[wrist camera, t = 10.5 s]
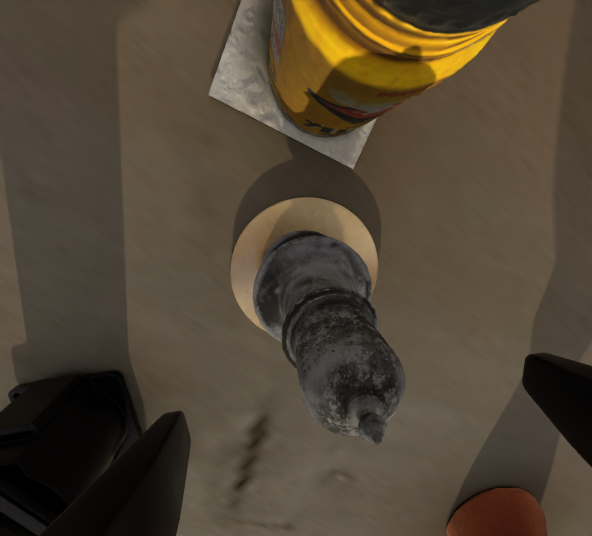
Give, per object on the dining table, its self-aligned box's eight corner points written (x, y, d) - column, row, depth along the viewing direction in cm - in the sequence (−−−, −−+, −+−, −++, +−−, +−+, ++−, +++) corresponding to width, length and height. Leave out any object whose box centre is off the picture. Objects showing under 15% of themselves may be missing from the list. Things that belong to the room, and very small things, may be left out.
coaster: (377, 326, 20) (380, 329, 19) (243, 346, 19) (243, 350, 19) (373, 188, 17) (376, 188, 17) (218, 206, 17) (217, 207, 16)
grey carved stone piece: (370, 272, 18) (556, 428, 7) (302, 335, 19) (363, 574, 7) (305, 203, 16) (400, 250, 5) (233, 275, 17) (174, 459, 6)
